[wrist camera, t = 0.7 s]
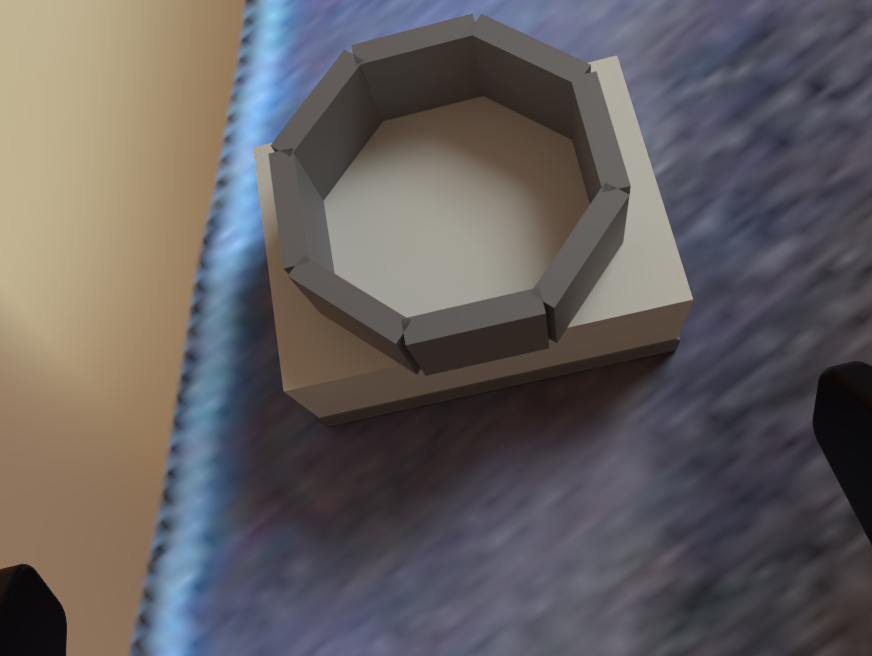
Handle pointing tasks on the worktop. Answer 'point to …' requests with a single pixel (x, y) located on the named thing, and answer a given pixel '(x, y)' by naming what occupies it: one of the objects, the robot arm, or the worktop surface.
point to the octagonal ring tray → (462, 223)
